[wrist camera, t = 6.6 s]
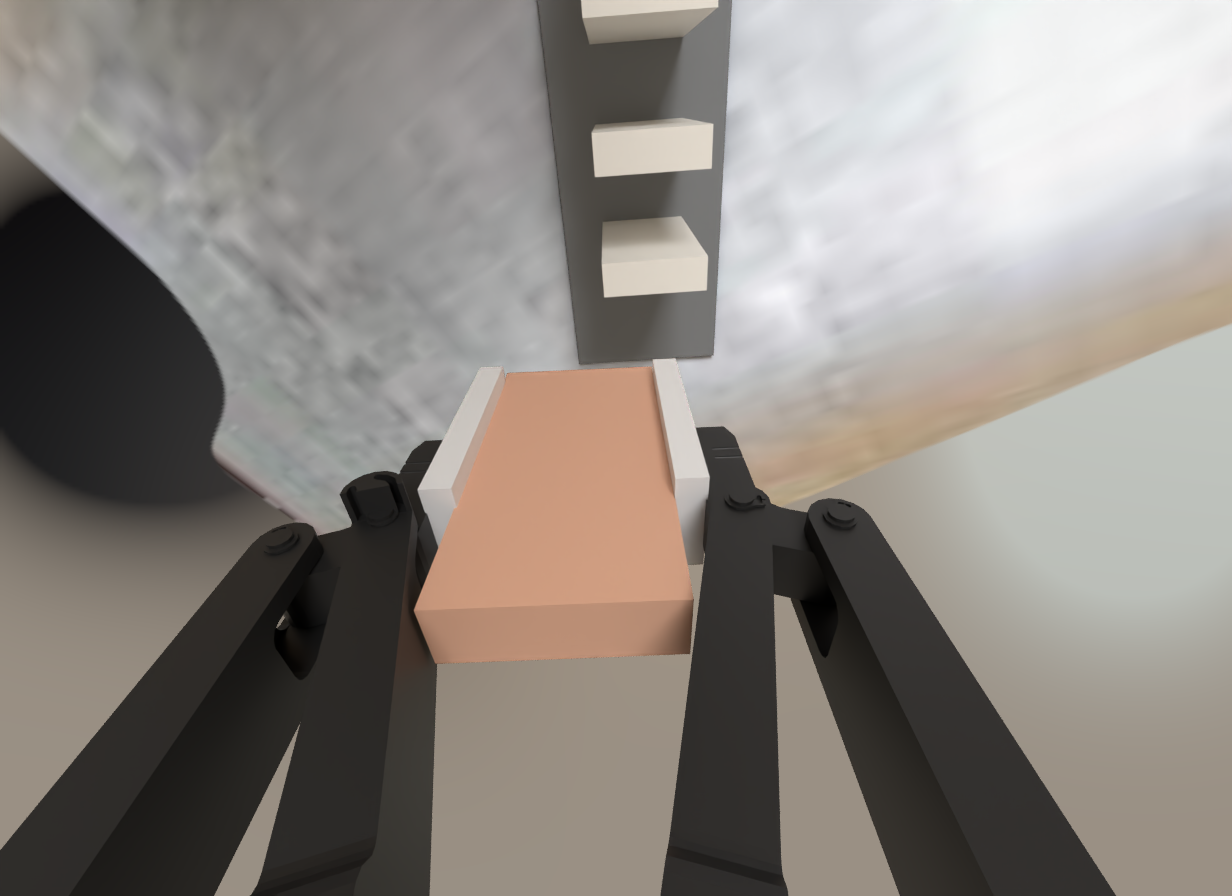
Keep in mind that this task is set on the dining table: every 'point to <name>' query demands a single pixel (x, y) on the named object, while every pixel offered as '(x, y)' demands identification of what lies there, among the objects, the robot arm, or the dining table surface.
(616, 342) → the mat
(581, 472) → the end domino
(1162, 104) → the dining table surface
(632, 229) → the domino
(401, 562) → the robot arm
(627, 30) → the domino
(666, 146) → the domino
